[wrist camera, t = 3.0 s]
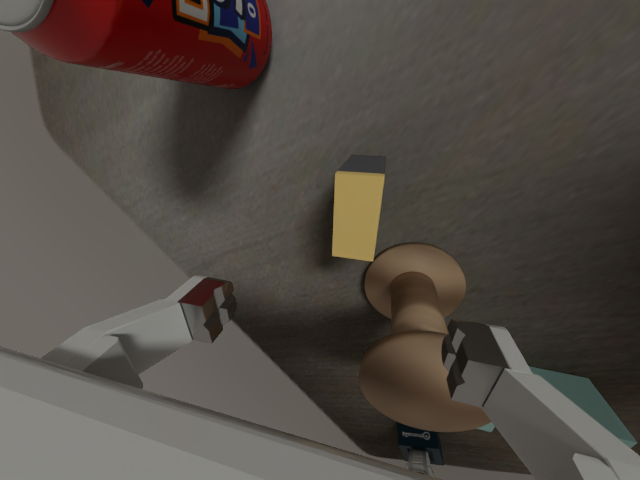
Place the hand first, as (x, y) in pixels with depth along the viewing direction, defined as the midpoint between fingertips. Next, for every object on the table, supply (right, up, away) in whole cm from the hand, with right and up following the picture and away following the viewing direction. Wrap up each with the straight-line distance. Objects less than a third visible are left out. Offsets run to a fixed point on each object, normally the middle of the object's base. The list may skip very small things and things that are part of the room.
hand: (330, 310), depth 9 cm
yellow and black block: (+4, +8, +14) cm, 16 cm away
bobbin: (+10, -2, +17) cm, 20 cm away
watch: (+15, -27, +29) cm, 43 cm away
